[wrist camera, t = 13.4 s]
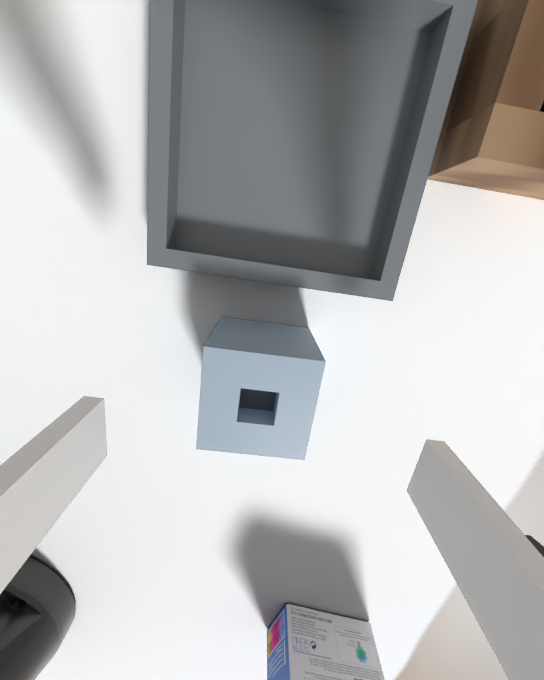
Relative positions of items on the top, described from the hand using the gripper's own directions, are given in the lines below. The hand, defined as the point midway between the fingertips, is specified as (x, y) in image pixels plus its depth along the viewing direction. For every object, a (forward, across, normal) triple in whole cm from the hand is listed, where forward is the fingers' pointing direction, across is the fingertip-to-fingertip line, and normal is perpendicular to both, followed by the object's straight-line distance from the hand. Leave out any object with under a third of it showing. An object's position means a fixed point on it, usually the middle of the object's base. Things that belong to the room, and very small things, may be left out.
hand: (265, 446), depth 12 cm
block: (+9, 0, 0) cm, 9 cm away
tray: (+9, 0, -13) cm, 16 cm away
